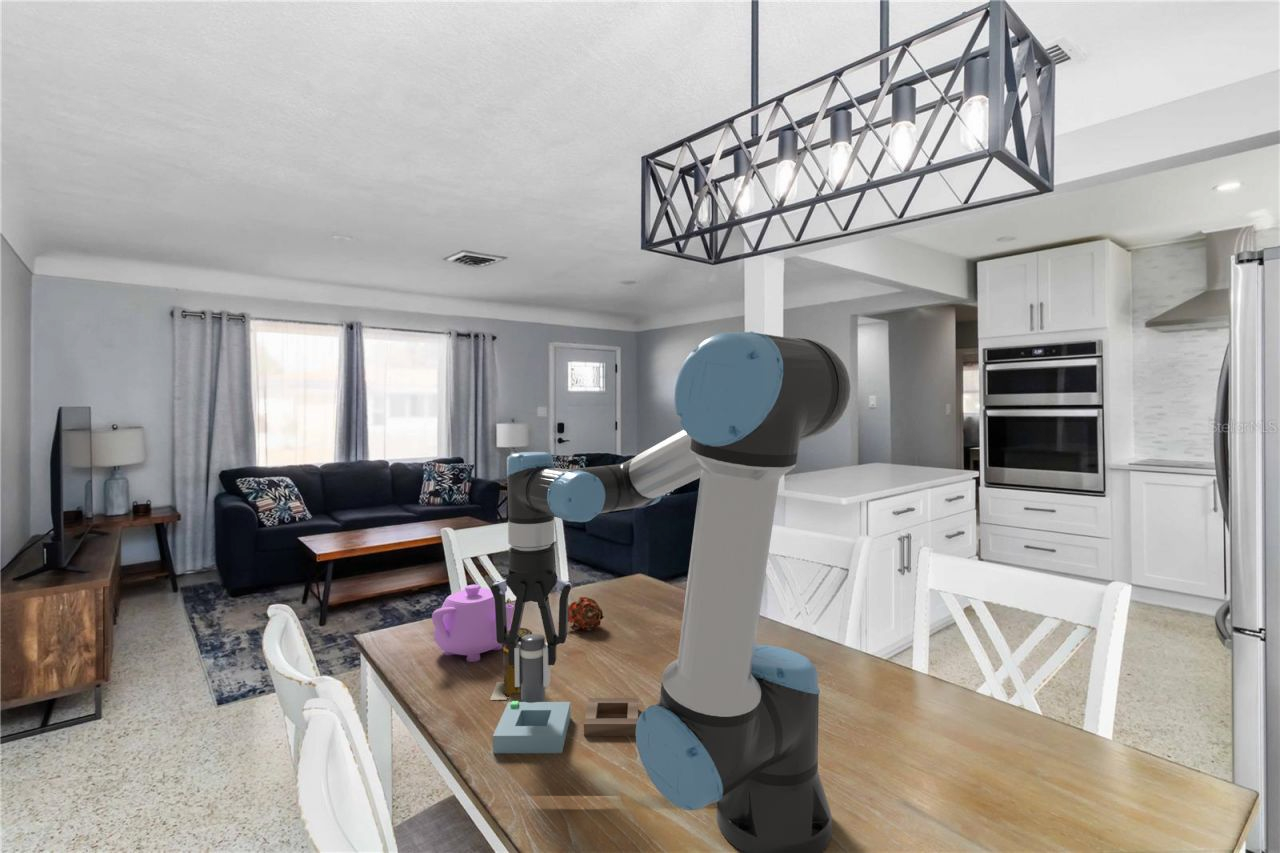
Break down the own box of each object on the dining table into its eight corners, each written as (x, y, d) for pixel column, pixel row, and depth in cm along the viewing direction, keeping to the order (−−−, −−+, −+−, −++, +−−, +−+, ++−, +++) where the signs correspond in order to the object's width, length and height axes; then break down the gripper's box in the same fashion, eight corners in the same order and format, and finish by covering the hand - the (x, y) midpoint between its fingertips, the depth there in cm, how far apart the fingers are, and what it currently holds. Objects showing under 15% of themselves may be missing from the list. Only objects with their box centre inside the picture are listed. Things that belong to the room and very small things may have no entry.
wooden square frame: (637, 742, 102) (637, 723, 102) (584, 742, 102) (583, 724, 102) (638, 715, 111) (638, 697, 111) (588, 715, 111) (588, 698, 111)
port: (562, 760, 97) (561, 731, 97) (493, 760, 97) (492, 732, 97) (570, 724, 108) (570, 698, 108) (508, 724, 108) (508, 698, 108)
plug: (543, 702, 101) (542, 643, 100) (518, 702, 101) (517, 643, 100) (547, 691, 105) (546, 633, 104) (523, 691, 105) (522, 633, 104)
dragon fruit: (599, 642, 150) (568, 636, 158) (617, 614, 155) (585, 610, 163) (581, 619, 146) (550, 615, 154) (599, 591, 152) (568, 588, 160)
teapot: (475, 681, 125) (474, 609, 125) (409, 661, 135) (407, 594, 135) (537, 647, 142) (536, 584, 142) (474, 632, 152) (473, 572, 152)
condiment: (534, 699, 117) (533, 638, 117) (489, 701, 117) (488, 639, 117) (538, 682, 125) (538, 624, 124) (497, 683, 124) (496, 625, 124)
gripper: (585, 540, 105) (585, 673, 106) (486, 540, 105) (487, 673, 106) (580, 550, 98) (581, 693, 99) (473, 550, 98) (475, 693, 99)
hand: (532, 682), depth 102 cm, fingers closed on plug, 4 cm apart
